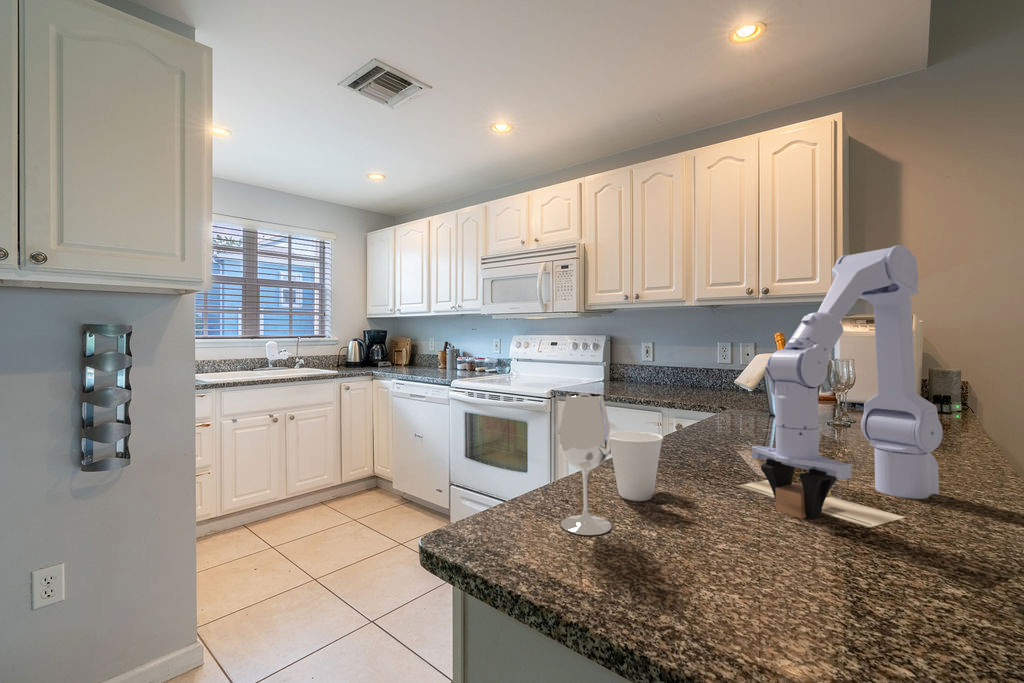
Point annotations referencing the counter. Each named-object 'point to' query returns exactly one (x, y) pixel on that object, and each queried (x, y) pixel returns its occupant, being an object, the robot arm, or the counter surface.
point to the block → (792, 500)
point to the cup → (635, 463)
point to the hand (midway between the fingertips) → (798, 514)
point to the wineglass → (585, 451)
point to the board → (837, 507)
